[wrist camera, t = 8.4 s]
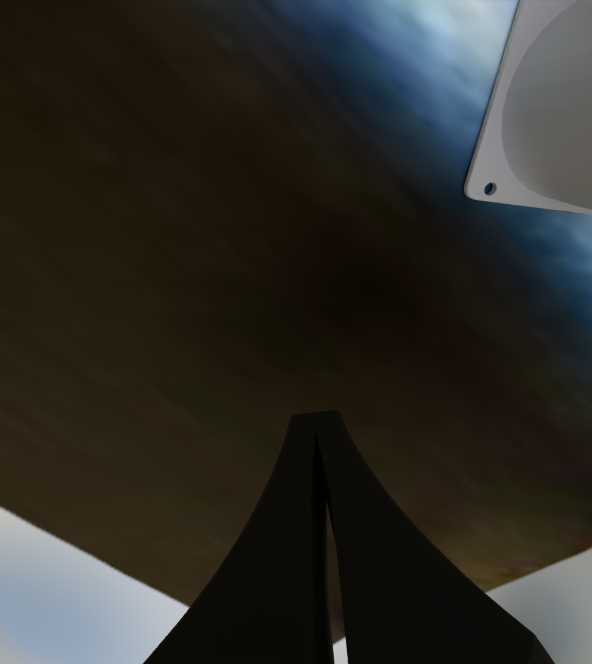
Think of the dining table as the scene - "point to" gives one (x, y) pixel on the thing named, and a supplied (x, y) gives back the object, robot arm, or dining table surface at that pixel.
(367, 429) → the dining table surface
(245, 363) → the dining table surface
